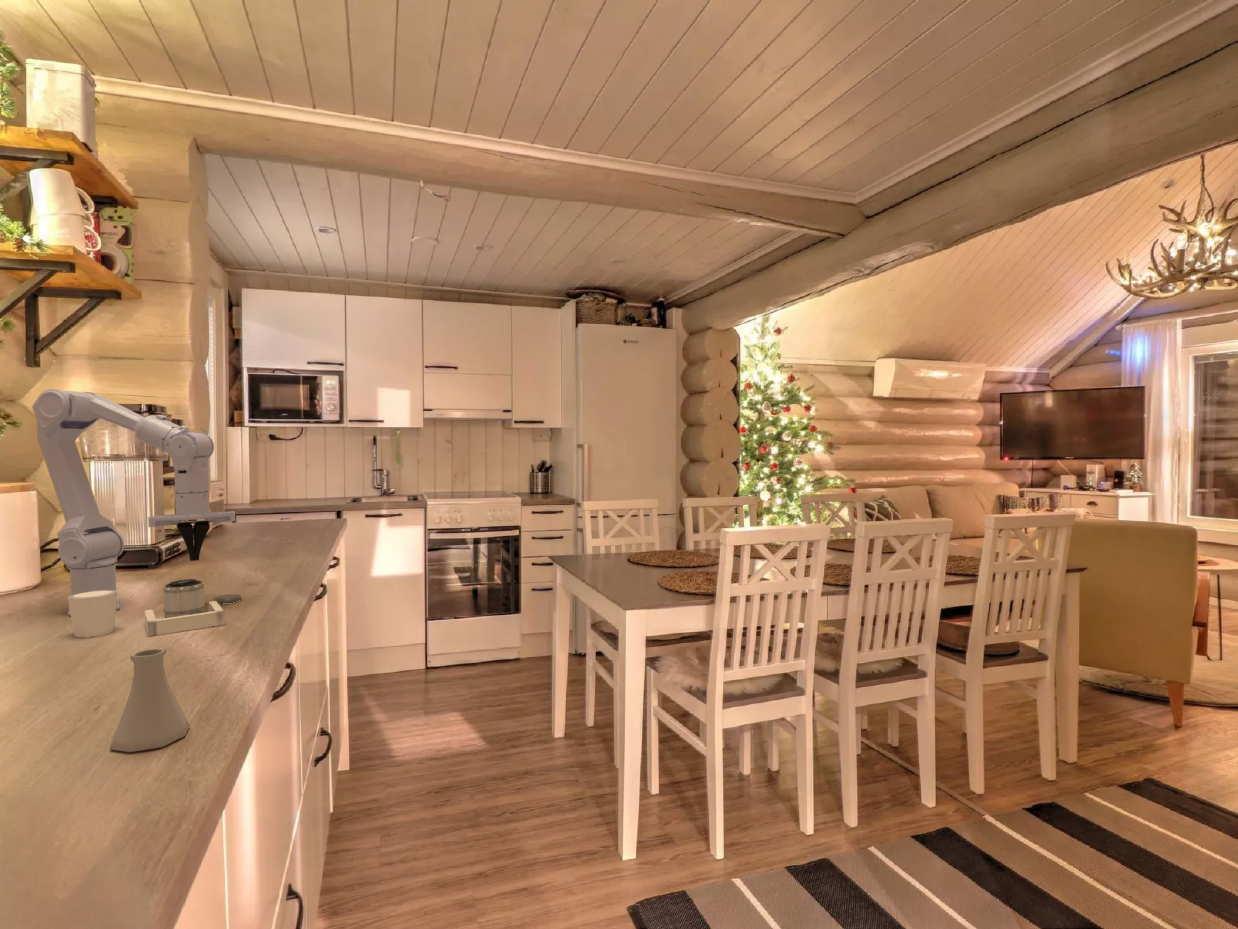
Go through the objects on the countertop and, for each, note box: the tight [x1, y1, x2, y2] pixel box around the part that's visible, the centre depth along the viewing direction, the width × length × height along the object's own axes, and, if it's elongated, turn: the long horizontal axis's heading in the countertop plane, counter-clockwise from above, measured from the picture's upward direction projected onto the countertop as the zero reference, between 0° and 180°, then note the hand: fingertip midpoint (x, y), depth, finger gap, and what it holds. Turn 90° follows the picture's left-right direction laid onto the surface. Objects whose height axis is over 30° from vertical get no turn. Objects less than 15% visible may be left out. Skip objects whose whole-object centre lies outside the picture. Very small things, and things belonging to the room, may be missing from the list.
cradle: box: [144, 600, 225, 637], centre depth 122 cm, size 10×11×2 cm
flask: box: [108, 647, 191, 753], centre depth 75 cm, size 7×7×10 cm
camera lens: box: [162, 578, 206, 618], centre depth 123 cm, size 6×6×8 cm
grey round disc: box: [213, 593, 242, 604], centre depth 140 cm, size 5×5×1 cm
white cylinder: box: [67, 589, 118, 638], centre depth 117 cm, size 7×7×7 cm
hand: (194, 560), depth 133 cm, fingers closed
